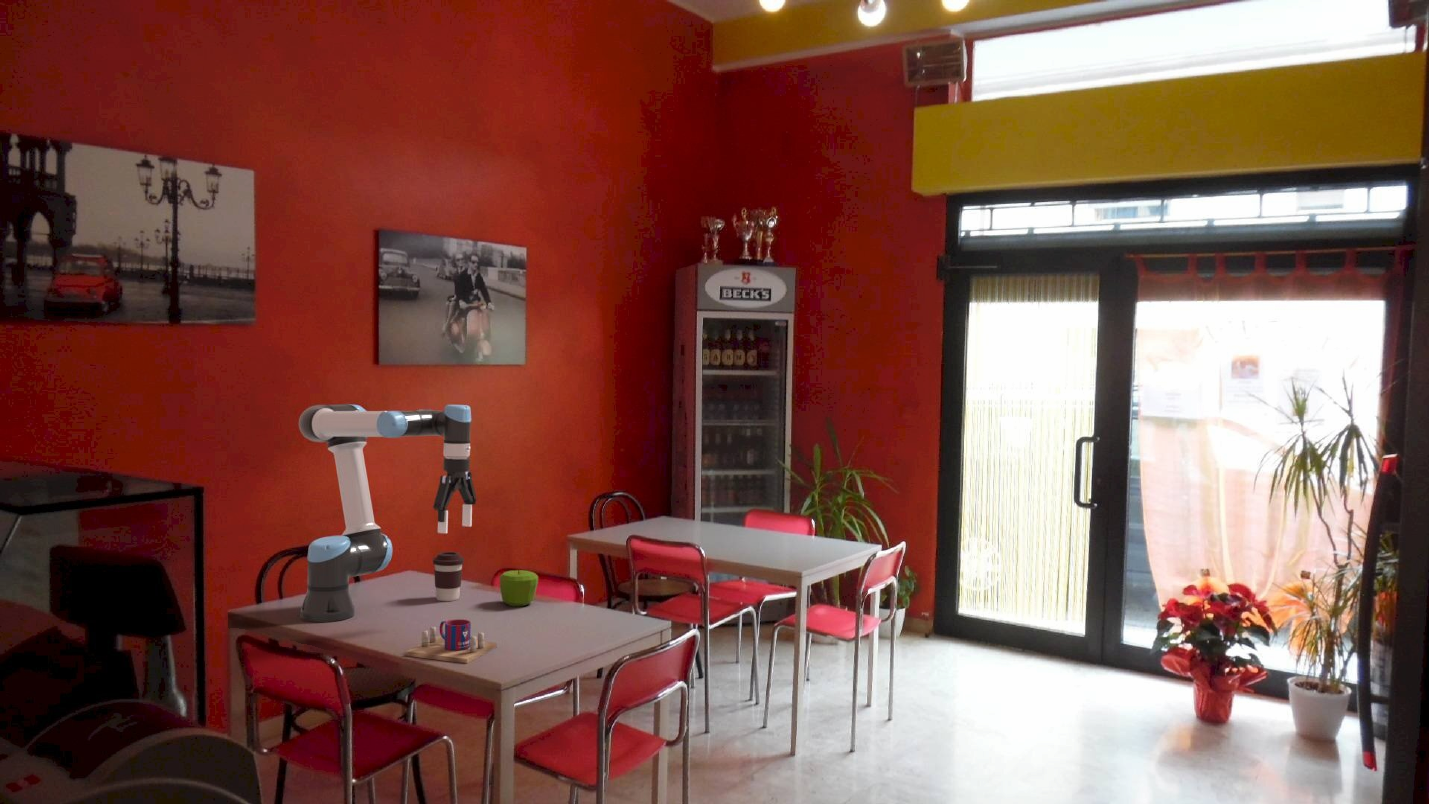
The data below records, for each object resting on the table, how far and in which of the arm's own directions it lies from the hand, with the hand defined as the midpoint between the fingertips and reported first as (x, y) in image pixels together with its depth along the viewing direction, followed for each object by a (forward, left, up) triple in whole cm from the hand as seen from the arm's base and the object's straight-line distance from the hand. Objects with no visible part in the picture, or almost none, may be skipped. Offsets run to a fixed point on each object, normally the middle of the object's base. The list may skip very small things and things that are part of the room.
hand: (455, 529), depth 287 cm
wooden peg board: (+13, -22, -29) cm, 38 cm away
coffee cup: (-19, +29, -29) cm, 45 cm away
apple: (+5, +32, -29) cm, 43 cm away
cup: (+13, -21, -28) cm, 37 cm away
